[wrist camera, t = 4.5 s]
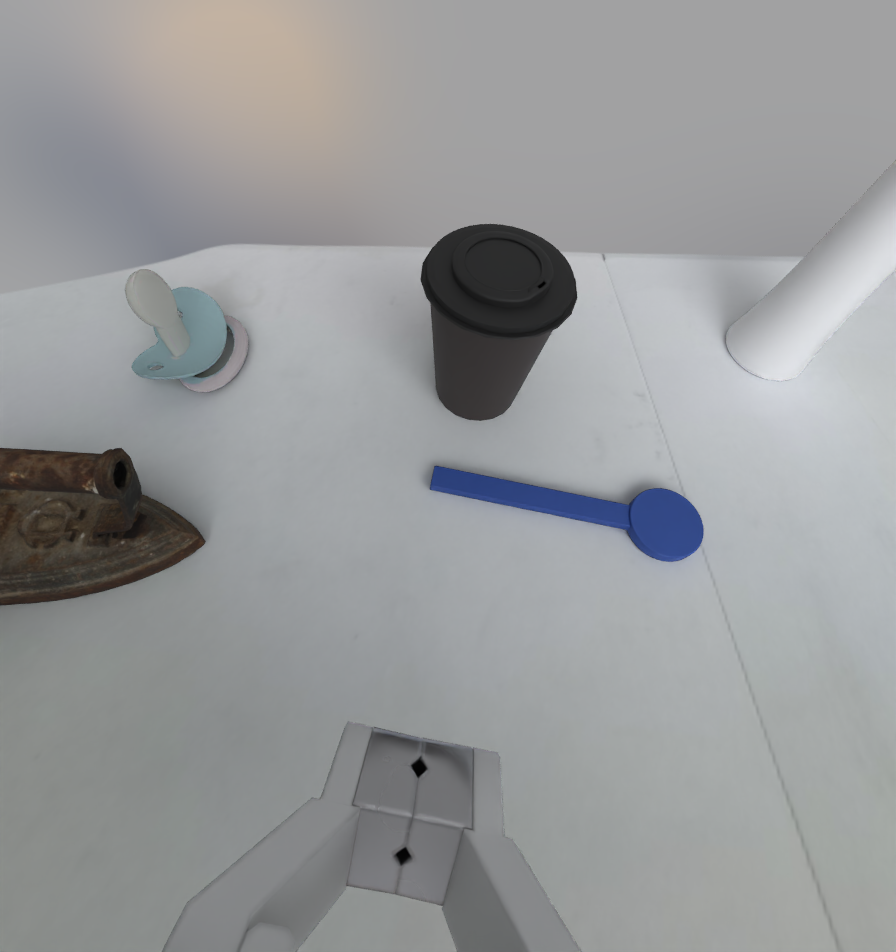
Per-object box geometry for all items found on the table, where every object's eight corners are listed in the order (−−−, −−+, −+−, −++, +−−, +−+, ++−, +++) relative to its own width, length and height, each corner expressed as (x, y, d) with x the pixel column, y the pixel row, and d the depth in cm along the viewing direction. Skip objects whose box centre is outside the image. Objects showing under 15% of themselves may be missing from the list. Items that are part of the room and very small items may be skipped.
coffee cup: (526, 451, 30) (578, 338, 21) (401, 422, 30) (402, 298, 22) (541, 356, 34) (591, 227, 25) (430, 331, 34) (441, 194, 25)
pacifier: (260, 321, 33) (170, 311, 33) (236, 241, 28) (127, 228, 27) (236, 406, 30) (135, 397, 29) (203, 335, 24) (78, 322, 24)
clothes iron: (5, 481, 27) (-99, 350, 19) (223, 507, 30) (213, 405, 22) (-65, 604, 23) (-231, 504, 15) (194, 619, 26) (169, 543, 18)
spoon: (424, 512, 28) (425, 507, 27) (438, 449, 30) (439, 442, 29) (698, 568, 28) (706, 564, 27) (694, 501, 30) (701, 495, 29)
